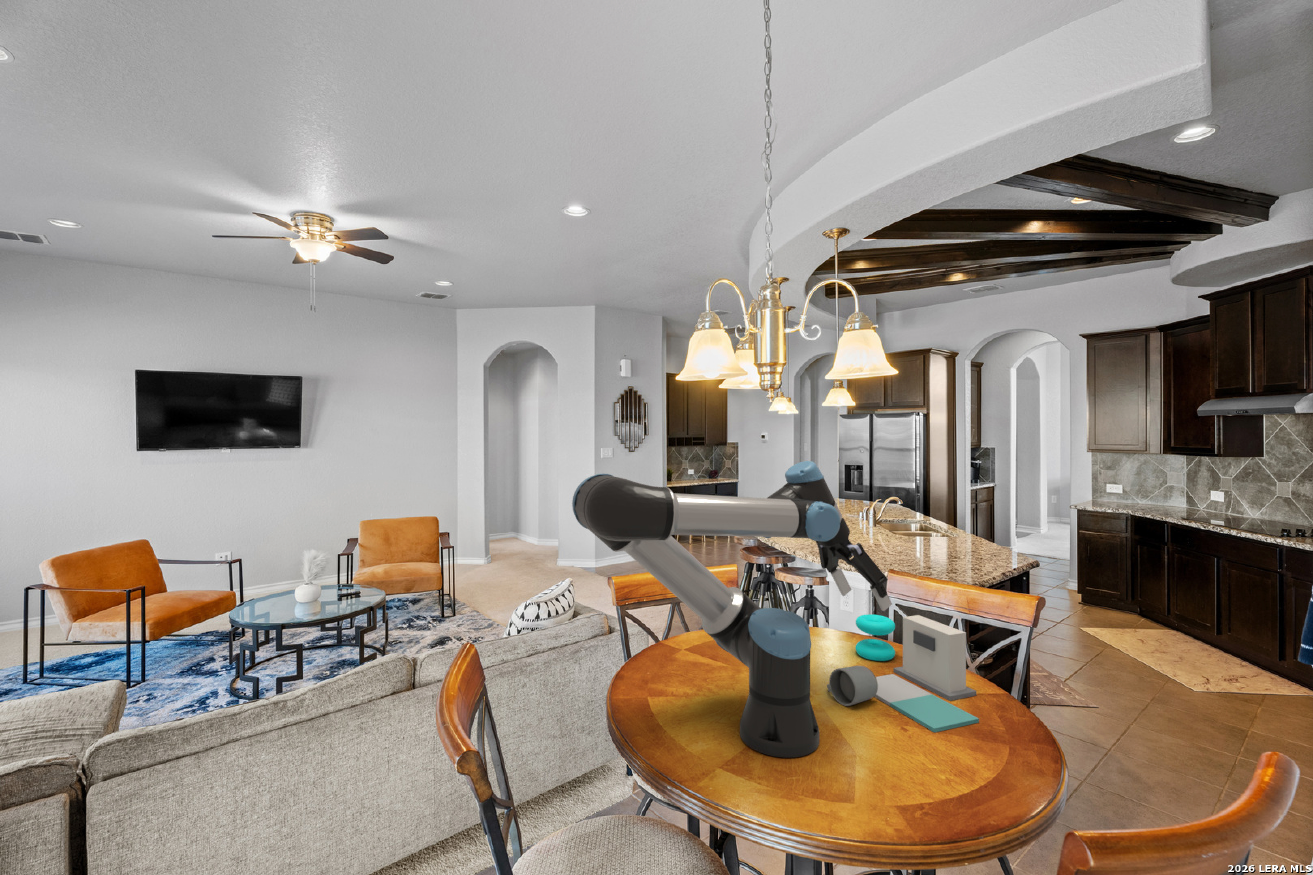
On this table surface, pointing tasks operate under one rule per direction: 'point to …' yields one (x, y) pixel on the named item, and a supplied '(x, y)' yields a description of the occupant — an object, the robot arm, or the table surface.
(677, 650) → the table surface
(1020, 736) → the table surface
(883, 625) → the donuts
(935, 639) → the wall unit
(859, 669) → the ceramic mug
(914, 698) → the mat
